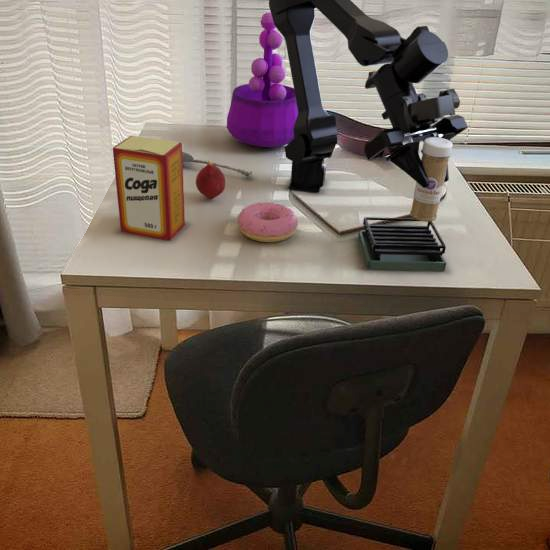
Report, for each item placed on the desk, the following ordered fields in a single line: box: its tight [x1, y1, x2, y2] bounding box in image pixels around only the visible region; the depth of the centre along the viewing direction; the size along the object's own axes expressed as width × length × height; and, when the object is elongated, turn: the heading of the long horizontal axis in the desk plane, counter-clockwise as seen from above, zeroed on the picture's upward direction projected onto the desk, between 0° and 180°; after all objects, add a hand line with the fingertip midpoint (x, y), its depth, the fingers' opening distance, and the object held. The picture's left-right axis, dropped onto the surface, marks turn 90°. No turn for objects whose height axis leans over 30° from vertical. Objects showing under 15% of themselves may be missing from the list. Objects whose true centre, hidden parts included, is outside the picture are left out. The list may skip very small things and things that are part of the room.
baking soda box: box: [112, 135, 186, 241], centre depth 106 cm, size 10×6×16 cm
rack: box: [362, 216, 447, 262], centre depth 105 cm, size 12×10×4 cm
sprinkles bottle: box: [409, 137, 453, 223], centre depth 100 cm, size 5×5×13 cm
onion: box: [195, 160, 227, 201], centre depth 119 cm, size 6×6×8 cm
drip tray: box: [357, 229, 447, 272], centre depth 106 cm, size 13×11×2 cm
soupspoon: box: [182, 151, 253, 180], centre depth 134 cm, size 22×3×7 cm
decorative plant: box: [226, 11, 298, 148], centre depth 143 cm, size 19×19×30 cm
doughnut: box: [236, 201, 299, 243], centre depth 110 cm, size 11×11×4 cm
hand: (436, 184), depth 99 cm, fingers closed on sprinkles bottle, 4 cm apart
